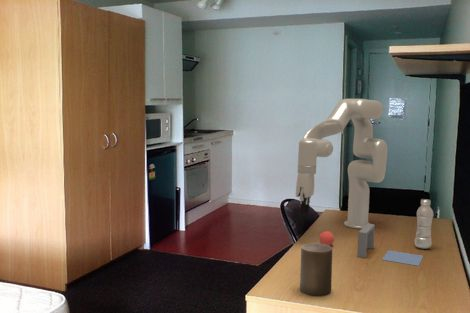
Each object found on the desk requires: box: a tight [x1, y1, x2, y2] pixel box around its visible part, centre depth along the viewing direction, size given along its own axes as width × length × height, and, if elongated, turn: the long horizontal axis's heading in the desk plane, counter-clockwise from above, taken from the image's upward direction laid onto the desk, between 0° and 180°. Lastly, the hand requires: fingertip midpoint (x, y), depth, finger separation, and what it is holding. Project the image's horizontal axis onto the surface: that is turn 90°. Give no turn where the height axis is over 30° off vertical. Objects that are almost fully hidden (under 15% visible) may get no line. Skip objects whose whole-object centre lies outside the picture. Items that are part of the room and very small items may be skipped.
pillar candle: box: [299, 242, 333, 297], centre depth 147 cm, size 10×10×15 cm
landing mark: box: [381, 250, 424, 267], centre depth 180 cm, size 13×13×1 cm
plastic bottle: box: [414, 198, 434, 250], centre depth 192 cm, size 6×7×20 cm
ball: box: [318, 230, 335, 246], centre depth 194 cm, size 6×6×6 cm
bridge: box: [356, 223, 376, 259], centre depth 186 cm, size 3×15×10 cm, turn 152°
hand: (304, 213), depth 197 cm, fingers closed
